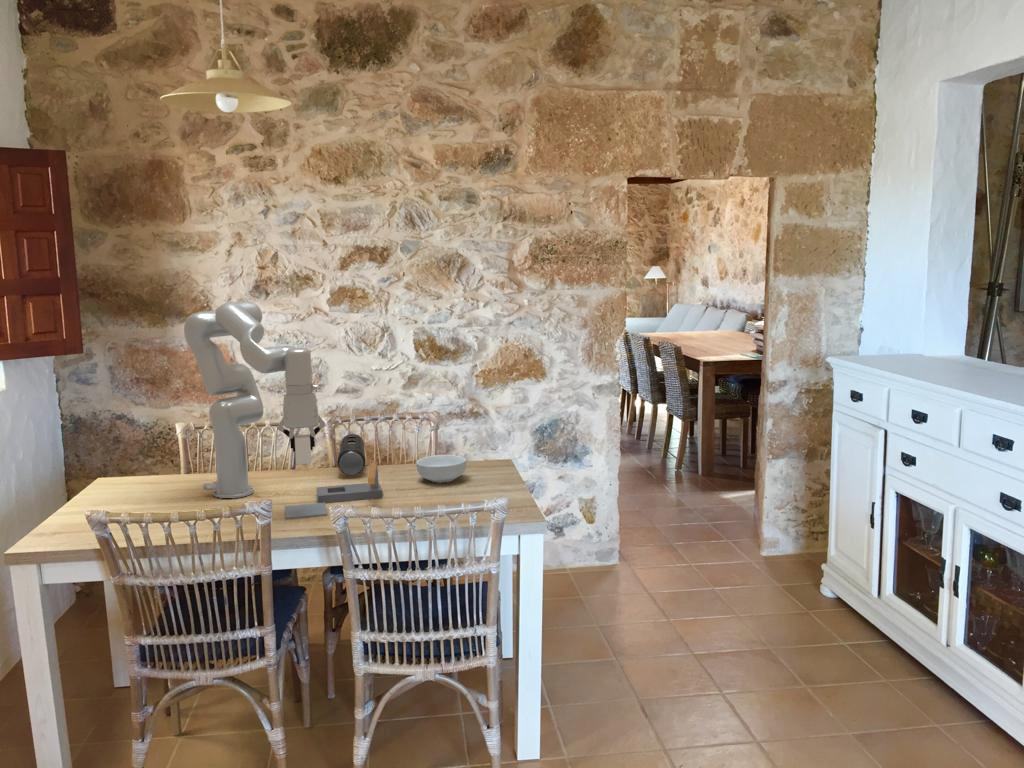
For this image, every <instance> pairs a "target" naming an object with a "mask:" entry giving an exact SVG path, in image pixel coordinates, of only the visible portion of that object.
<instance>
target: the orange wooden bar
mask: <svg viewBox="0 0 1024 768" xmlns="http://www.w3.org/2000/svg"><path fill="white" fill-rule="evenodd" d="M368 466H369V469H368V475H367V483H368V484H374V482H375V475H376V469H377V470H378V468H379V466H378V461H375V460H372V461H369V463H368Z"/></svg>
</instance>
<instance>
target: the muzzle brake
mask: <svg viewBox="0 0 1024 768" xmlns="http://www.w3.org/2000/svg"><path fill="white" fill-rule="evenodd" d="M339 444H340V445H339V453H338V457H337V467H338V469H339V471H340V472H341V473H342V474H345V475H347V476H355V475H358V474H360V473H361V472H363V470H364V469H365V467H366V457H365V442H364V439H363V438H362V437H361V436H360V435H358V434H355V433H351V434H350V433H349V434H347V435H345V436H343V438H342V439H341V441H340V443H339Z"/></svg>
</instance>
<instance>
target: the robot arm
mask: <svg viewBox="0 0 1024 768" xmlns="http://www.w3.org/2000/svg"><path fill="white" fill-rule="evenodd" d="M262 320H263V311H262V310H261V307H260V306H259V305H258V304H257V303H255V302H253V301H249V300H247V301H233V302H232V301H230V302H229V301H228V302H226V303H222V304H221V305H220V306H218V307H216V310H206V311H200V312H199V311H198V312H194V313H192V314H191V315H189V316H188V317H187V318H186V319H185V321H184V327H183V333H184V338H185V342H186V343H187V346H188V348H189V349H190V351H191V353H192V354H193V357H194V359H195V362H196V364H197V367H198V370H199V374H200V376H201V380H202V382H203V385H204V388H205V390H206V392H207V393H208V394H209V395H210V396H214V397H217V396H218V397H219V396H226V395H233V394H236V396H235V395H234V396H230V397H224V398H220V399H218V400H216V401H214V402H213V403H212V404H211V405H210V407H209V408H208V409H209V410H208V416H209V420H210V423H211V427H212V431H213V432H212V433H213V439H214V452H215V466H216V478H217V479H216V481H213V482H212V483H209V482H208V483H207V482H206V483H203V484H202V488H203V490H206V491H213V492H212V495H213V497H214V496H215V498H217V497H219V498H218V499H222V498H232V499H239V498H243V497H247V496H250V495H252V494H253V493H254V492H255V490H254V489H255V488H254V487H253V486H252V485H249V473H248V472H249V471H248V470H249V469H248V456H247V442H246V437H245V435H244V433H243V432H242V431H241V429H240V428H239V427H240V426H243V425H249V424H253V423H256V422H259V421H260V420H261V419H262V418H263V416H264V404H263V401H262V398H261V395H260V392H259V388H258V386H257V382H256V380H255V377H254V374H253V372H252V370H251V369H250V368H249V367H251V368H252V369H254V370H255V371H256V372H258V373H260V374H265V375H266V374H273V373H277V372H278V373H279V372H285V385H286V387H285V388H286V389H285V390H286V393H285V394H284V395H283V403H282V418H281V420H280V422H279V423H278V424H277V426H276V429H277V430H278V431H279V432H282V433H283V434H285V436H286V437H288V438H289V446H290V449H292V452H293V453H295V437H294V435H295V429H305V428H306V429H307V428H308V430H309V435H310V447H311V451H313V448H315V447H316V446H315V445H316V443H315V437H316V435H318V433H320V431H321V430H322V429H324V428H325V427H326V426H327V424H326V422H325V421H324V419H322V417H320V415H319V407H318V400H317V395H316V392H314V391H315V390H318V385H317V384H314V383H313V372H312V371H313V370H312V357H311V350H310V349H308V348H306V347H296V346H293V345H280V346H270V347H269V346H268V347H261V346H260V345H259V343H260V342H261V341H262V339H263V337H264V335H265V328H264V326H263V324H262V323H261V322H262ZM229 336H231V337H233V338H234V339H235V340H236V341H237V342H239V351H240V354H241V356H242V359H243V360H244V362H245V363H246V364H247V365H249V366H247V365H246V364H243V363H232V364H228V363H227V362H226V359H225V356H224V354H223V351H222V349H221V348H220V347H219V346H218V345H217V344H216V343H215V341H213V340H212V339H211V338H219V337H229Z"/></svg>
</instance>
